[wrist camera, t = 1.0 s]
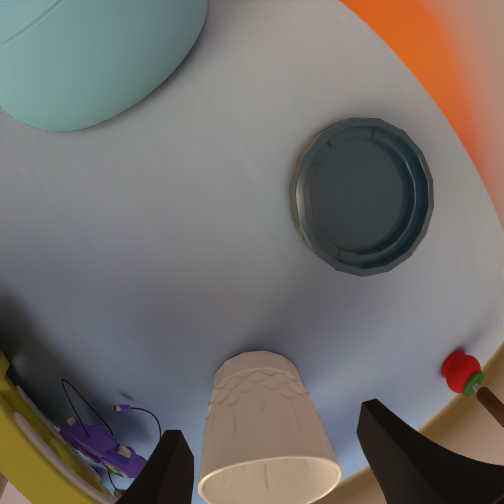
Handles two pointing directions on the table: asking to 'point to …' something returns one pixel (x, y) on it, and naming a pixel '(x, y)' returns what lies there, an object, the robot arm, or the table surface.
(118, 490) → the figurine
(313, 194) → the dish
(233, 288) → the table surface
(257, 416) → the white cup
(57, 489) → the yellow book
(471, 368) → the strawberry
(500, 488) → the robot arm
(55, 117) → the sugar bowl
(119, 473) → the game controller
